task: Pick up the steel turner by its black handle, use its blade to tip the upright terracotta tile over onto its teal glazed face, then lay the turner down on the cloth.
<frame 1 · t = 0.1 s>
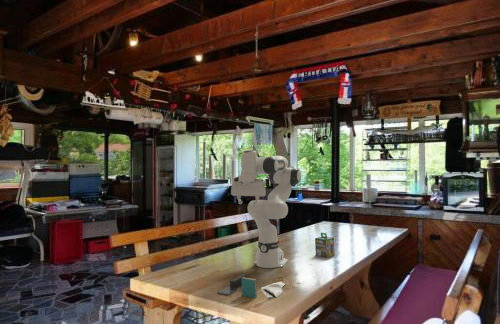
hand: (247, 204, 192), 39 cm above the table, tool pointing down, fingers open, 8 cm apart
tile: (248, 278, 162), point 8 cm above the table
cloth: (273, 291, 169), on the table
turner: (235, 287, 174), on the table
chalk box: (325, 255, 232), on the table
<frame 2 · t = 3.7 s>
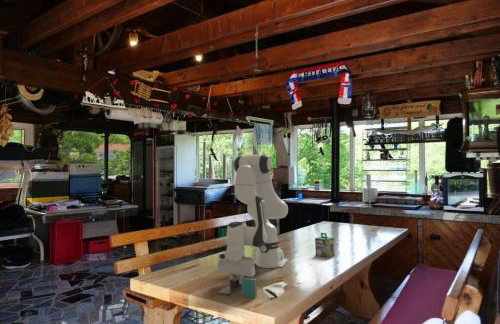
hand: (236, 283, 175), 2 cm above the table, tool pointing down, fingers closed on turner, 2 cm apart
turner: (235, 287, 174), on the table, touching gripper
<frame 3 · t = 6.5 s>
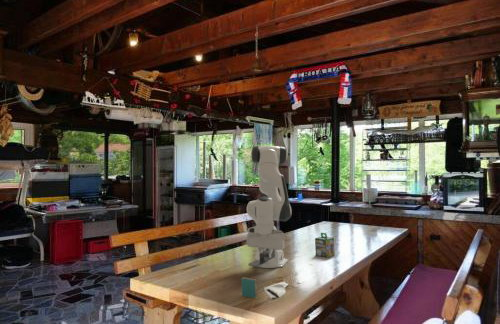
hand: (265, 256, 176), 14 cm above the table, tool pointing down, fingers closed on turner, 2 cm apart
turner: (264, 260, 175), point 12 cm above the table, touching gripper
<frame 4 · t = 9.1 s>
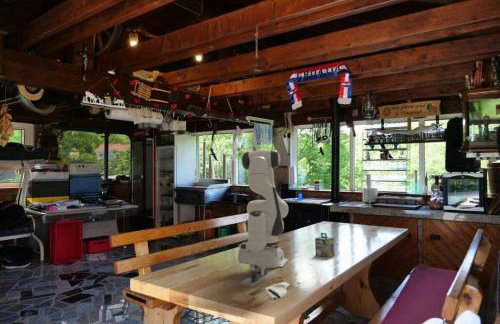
hand: (257, 274, 169), 8 cm above the table, tool pointing down, fingers closed on turner, 2 cm apart
tile: (238, 302, 153), on the table, tilted 91°
turner: (256, 278, 168), point 6 cm above the table, touching gripper
when the fingers open (5 cm above the table, at t = 13.5 s): turner drops 2 cm, resting on cloth.
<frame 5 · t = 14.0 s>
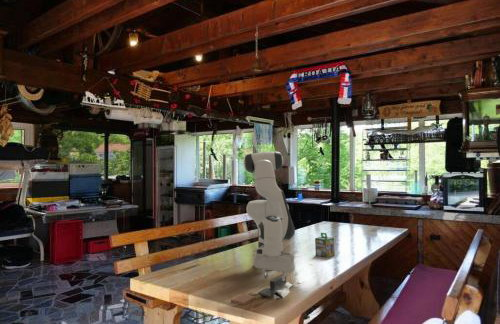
hand: (274, 279, 169), 5 cm above the table, tool pointing down, fingers open, 8 cm apart
cloth: (280, 292, 168), on the table, touching turner
turner: (275, 288, 167), point 1 cm above the table, touching cloth
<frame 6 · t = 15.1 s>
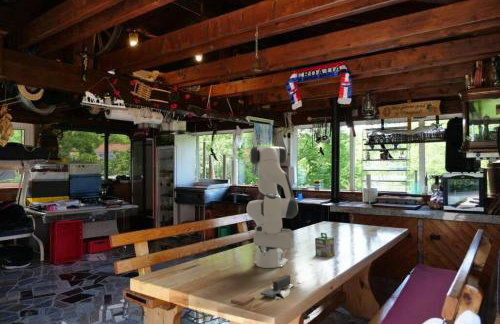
hand: (273, 256, 169), 16 cm above the table, tool pointing down, fingers open, 8 cm apart
turner: (278, 288, 167), point 1 cm above the table, touching cloth
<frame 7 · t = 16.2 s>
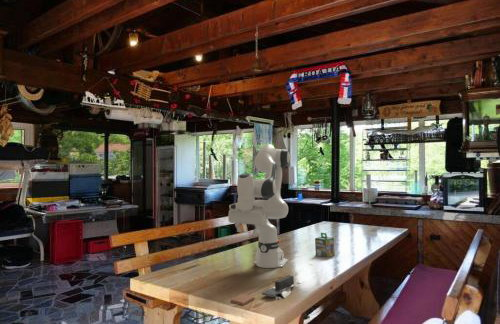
hand: (247, 232, 180), 26 cm above the table, tool pointing down, fingers open, 8 cm apart
turner: (281, 288, 166), point 1 cm above the table, touching cloth
everything else where it was.
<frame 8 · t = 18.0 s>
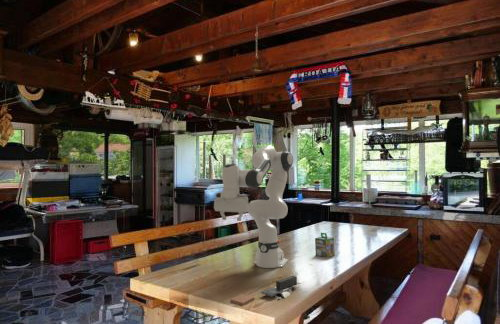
hand: (231, 220, 187), 31 cm above the table, tool pointing down, fingers open, 8 cm apart
cloth: (283, 292, 168), on the table
turner: (282, 288, 166), point 1 cm above the table
everything else where it was.
at the end: tile inside the target area (1.1 cm from its centre), on the table; turner inside the target area (4.7 cm from its centre), point 1.4 cm above the table; the gripper is holding nothing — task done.
